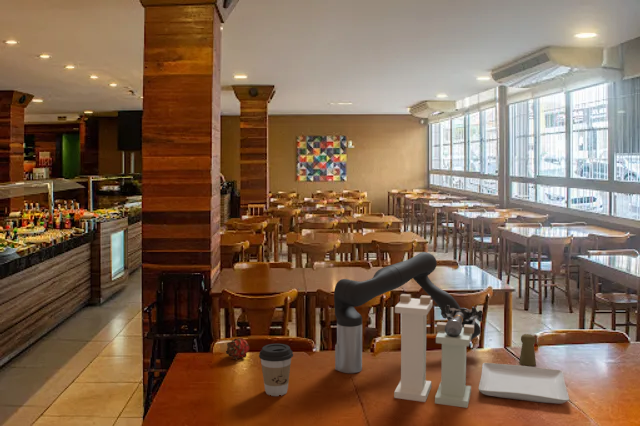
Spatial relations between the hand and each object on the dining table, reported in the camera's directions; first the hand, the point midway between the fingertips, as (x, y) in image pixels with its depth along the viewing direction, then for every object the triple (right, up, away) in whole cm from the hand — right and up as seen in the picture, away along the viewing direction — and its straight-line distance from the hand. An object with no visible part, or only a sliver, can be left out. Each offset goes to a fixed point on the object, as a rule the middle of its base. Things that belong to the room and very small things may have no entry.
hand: (460, 308), depth 197 cm
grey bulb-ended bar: (-4, -5, -12) cm, 13 cm away
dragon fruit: (-81, -24, +24) cm, 88 cm away
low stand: (-6, -26, -14) cm, 31 cm away
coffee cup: (-63, -26, -9) cm, 69 cm away
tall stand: (-18, -26, -10) cm, 33 cm away
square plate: (+19, -26, -7) cm, 33 cm away
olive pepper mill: (+30, -24, +17) cm, 42 cm away
